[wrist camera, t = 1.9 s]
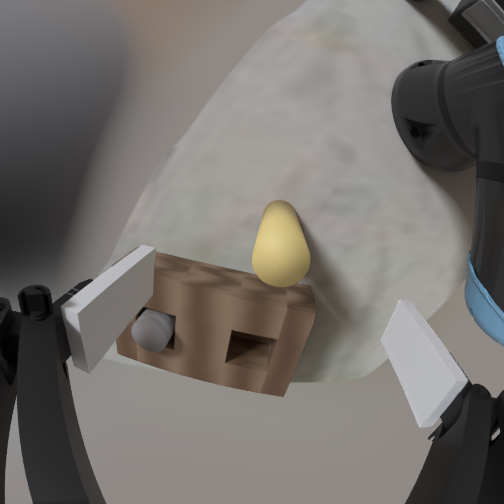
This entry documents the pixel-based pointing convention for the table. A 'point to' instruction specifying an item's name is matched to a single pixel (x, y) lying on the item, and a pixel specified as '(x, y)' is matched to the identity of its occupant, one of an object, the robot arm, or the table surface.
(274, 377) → the hole block
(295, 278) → the peg
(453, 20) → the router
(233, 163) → the table surface
